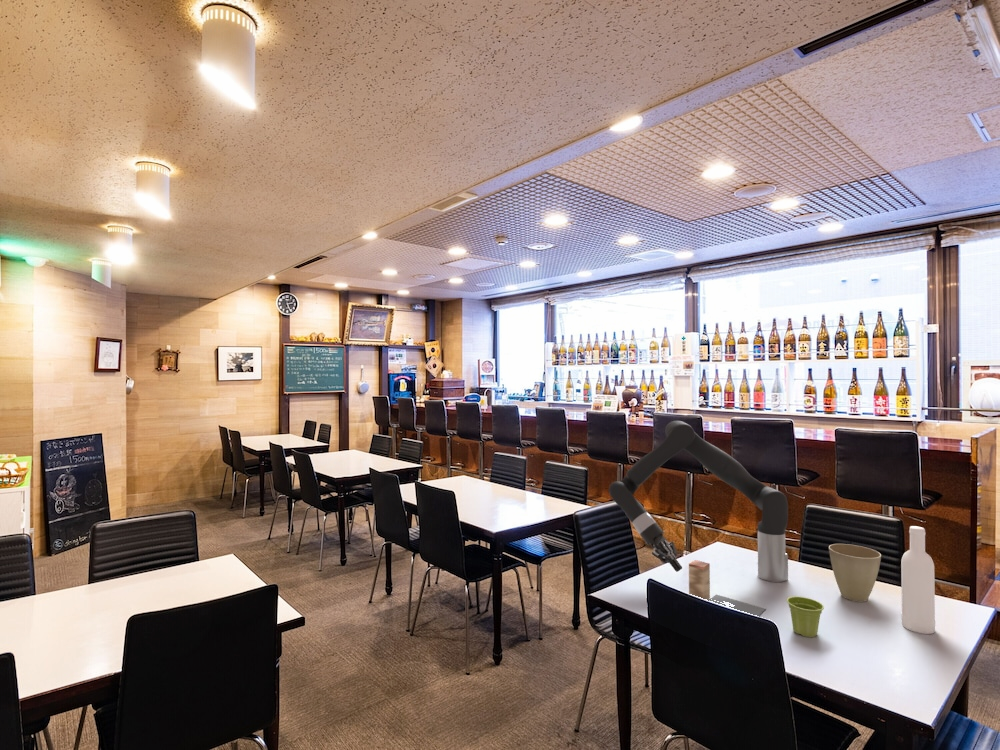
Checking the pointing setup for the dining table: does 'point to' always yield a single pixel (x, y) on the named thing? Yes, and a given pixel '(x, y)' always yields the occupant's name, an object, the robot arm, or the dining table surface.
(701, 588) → the oak block
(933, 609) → the bottle
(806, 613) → the plant pot
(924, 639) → the dining table surface
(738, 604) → the slate mat
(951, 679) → the dining table surface
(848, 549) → the plant pot
